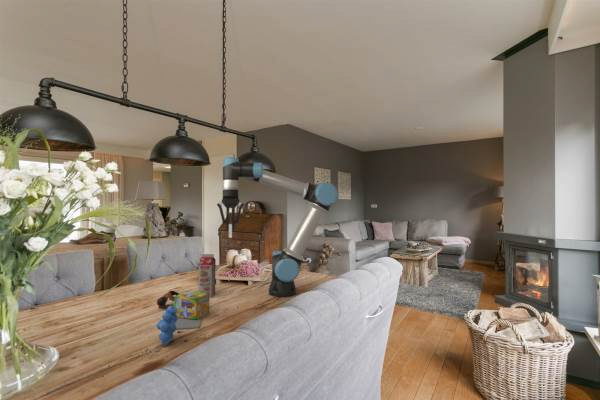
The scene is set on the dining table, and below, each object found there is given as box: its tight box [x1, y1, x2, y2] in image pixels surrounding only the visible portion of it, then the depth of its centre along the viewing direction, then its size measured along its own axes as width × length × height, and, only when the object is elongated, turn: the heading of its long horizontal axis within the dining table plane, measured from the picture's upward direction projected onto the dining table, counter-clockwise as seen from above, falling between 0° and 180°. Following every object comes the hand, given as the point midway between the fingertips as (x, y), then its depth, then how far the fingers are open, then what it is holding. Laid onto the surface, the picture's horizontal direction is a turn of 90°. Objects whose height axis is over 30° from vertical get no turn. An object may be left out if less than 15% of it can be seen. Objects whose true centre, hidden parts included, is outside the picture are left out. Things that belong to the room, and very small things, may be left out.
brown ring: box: [156, 290, 180, 310], centre depth 135 cm, size 12×10×8 cm
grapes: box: [155, 305, 178, 346], centre depth 102 cm, size 12×7×12 cm, turn 3°
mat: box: [159, 317, 203, 332], centre depth 120 cm, size 14×17×1 cm
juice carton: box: [197, 253, 216, 299], centre depth 154 cm, size 7×7×22 cm
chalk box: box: [172, 290, 211, 320], centre depth 125 cm, size 9×9×15 cm
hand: (230, 237), depth 142 cm, fingers closed
